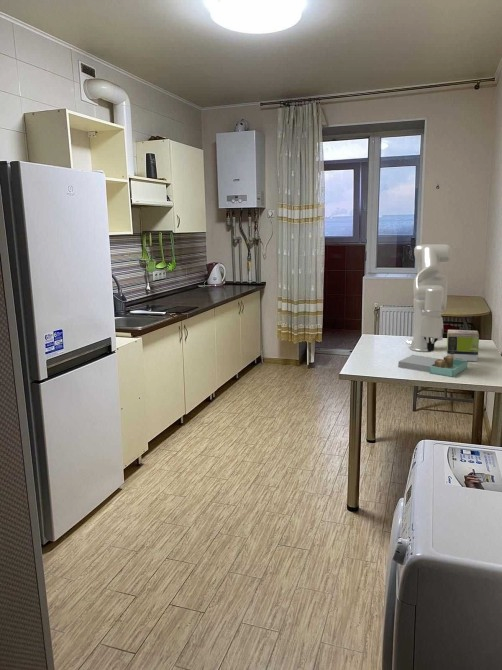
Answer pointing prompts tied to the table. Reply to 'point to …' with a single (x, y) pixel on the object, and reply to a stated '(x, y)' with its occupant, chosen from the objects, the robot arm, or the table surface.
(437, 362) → the wooden block
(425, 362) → the board
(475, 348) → the tea box
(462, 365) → the tray
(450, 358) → the brown angular block
